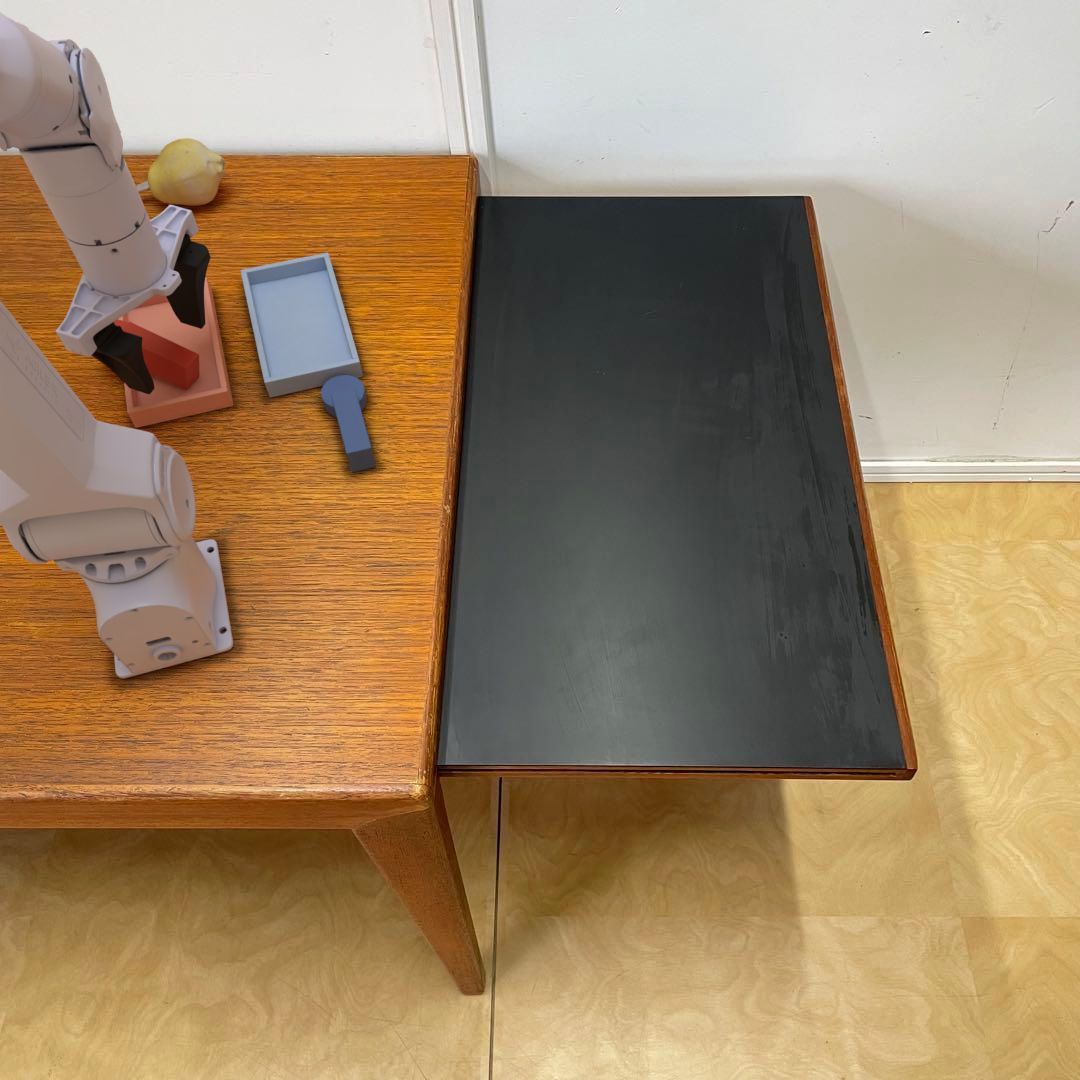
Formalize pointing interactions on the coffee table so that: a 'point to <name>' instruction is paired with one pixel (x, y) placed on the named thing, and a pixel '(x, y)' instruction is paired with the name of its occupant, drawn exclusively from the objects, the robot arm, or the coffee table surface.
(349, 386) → the blue spoon
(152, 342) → the red spoon
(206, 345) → the rose tray
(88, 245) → the robot arm
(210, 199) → the fruit
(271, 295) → the blue tray
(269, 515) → the coffee table surface
